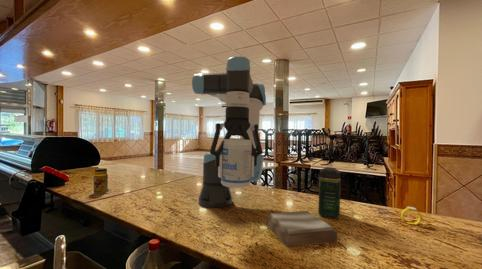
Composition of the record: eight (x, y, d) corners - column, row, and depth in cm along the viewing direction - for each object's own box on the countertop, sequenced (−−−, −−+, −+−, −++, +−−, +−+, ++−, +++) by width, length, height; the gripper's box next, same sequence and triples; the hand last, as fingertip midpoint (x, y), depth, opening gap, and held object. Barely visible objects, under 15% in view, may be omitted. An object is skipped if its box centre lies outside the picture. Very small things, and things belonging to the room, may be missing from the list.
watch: (418, 224, 80) (419, 208, 80) (422, 227, 77) (424, 210, 77) (399, 221, 82) (400, 205, 81) (402, 223, 79) (404, 207, 79)
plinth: (266, 224, 76) (266, 212, 76) (307, 220, 80) (307, 209, 80) (287, 247, 61) (287, 232, 61) (336, 241, 65) (337, 228, 65)
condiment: (92, 194, 106) (93, 170, 107) (92, 191, 113) (92, 167, 113) (109, 192, 111) (110, 169, 111) (108, 189, 118) (108, 166, 118)
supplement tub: (215, 186, 68) (216, 138, 68) (228, 180, 77) (229, 138, 77) (244, 190, 64) (245, 139, 64) (254, 183, 73) (255, 139, 73)
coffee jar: (340, 220, 81) (341, 170, 81) (317, 217, 84) (318, 168, 84) (339, 212, 90) (340, 167, 90) (319, 209, 93) (320, 165, 93)
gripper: (203, 103, 64) (201, 180, 64) (274, 107, 69) (272, 177, 70) (201, 106, 71) (200, 175, 71) (265, 109, 77) (264, 173, 77)
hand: (235, 176), depth 70 cm, fingers closed on supplement tub, 10 cm apart
